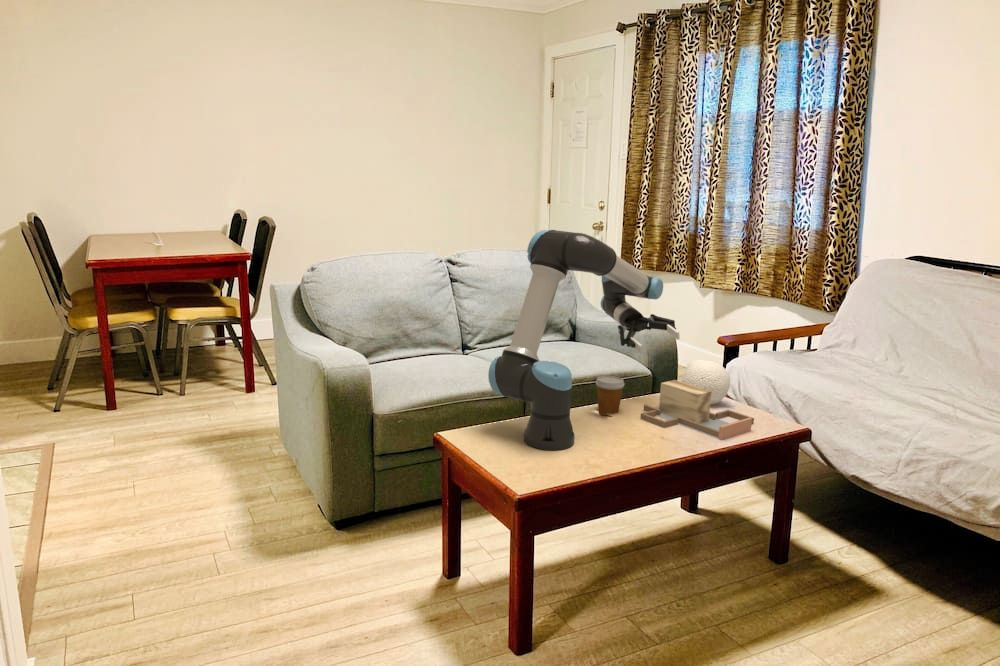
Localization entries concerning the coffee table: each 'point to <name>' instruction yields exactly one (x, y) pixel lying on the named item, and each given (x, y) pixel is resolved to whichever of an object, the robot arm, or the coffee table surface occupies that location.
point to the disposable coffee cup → (609, 394)
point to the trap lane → (709, 428)
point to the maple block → (685, 401)
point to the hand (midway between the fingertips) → (660, 342)
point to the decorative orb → (708, 378)
